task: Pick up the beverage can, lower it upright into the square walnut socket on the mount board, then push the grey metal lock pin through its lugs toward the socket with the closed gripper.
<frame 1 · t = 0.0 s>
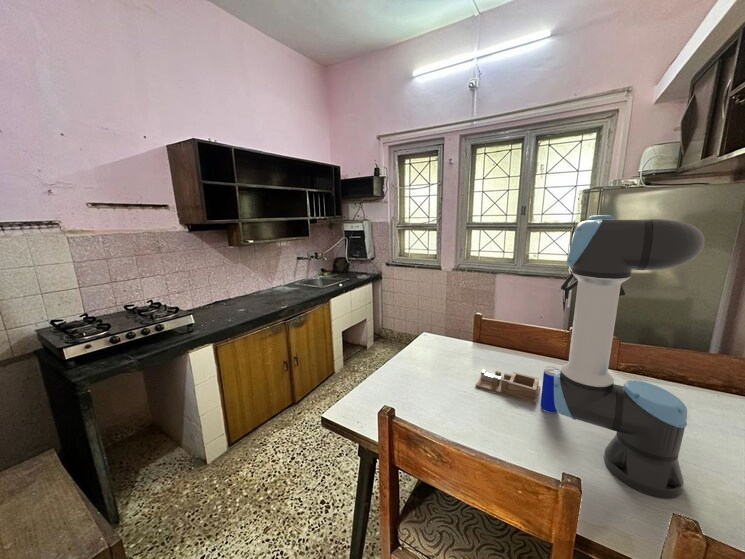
hand: (588, 309, 117), 28 cm above the table, fingers open, 13 cm apart
lock pin: (490, 376, 118), point 3 cm above the table, slide at 0.0 cm
beverage can: (548, 409, 102), on the table
mount: (507, 387, 115), on the table
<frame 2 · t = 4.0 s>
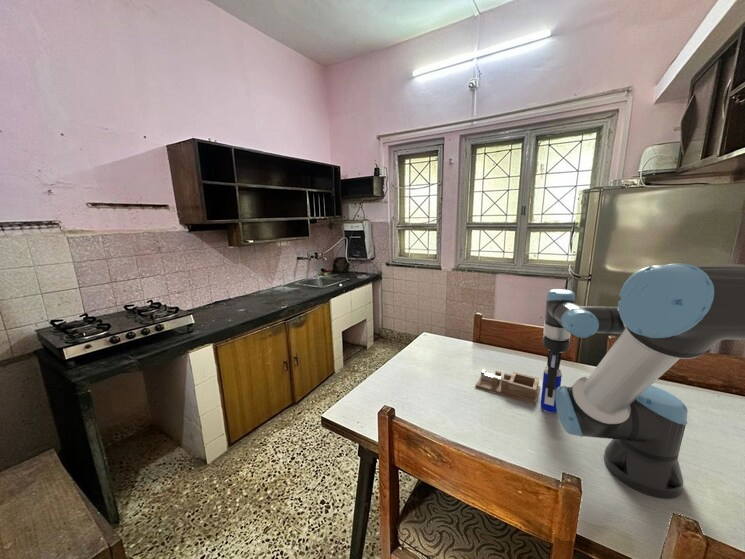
hand: (549, 399, 101), 4 cm above the table, fingers closed on beverage can, 5 cm apart
beverage can: (548, 409, 102), on the table, touching gripper
everything else where it was.
when the fingers open (7 cm above the table, at t = 8.1 s): beverage can drops 2 cm, resting on mount.
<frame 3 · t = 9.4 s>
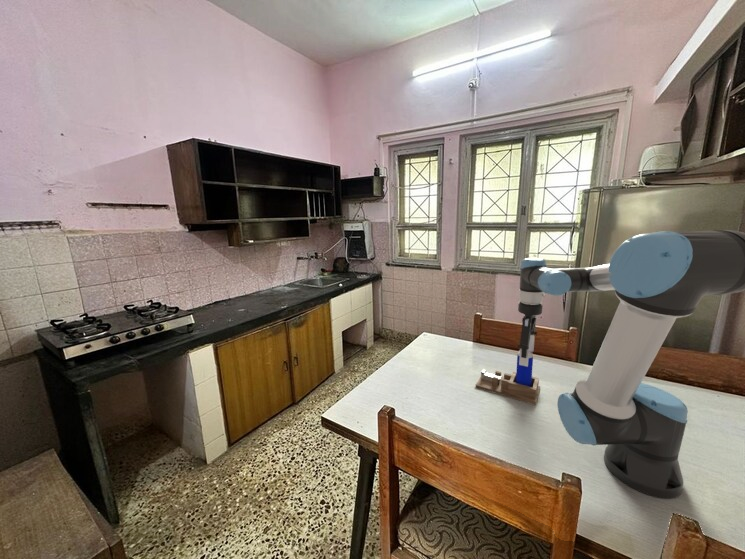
hand: (526, 357, 108), 15 cm above the table, fingers open, 13 cm apart
beverage can: (523, 390, 112), point 1 cm above the table, touching mount
everything else where it was.
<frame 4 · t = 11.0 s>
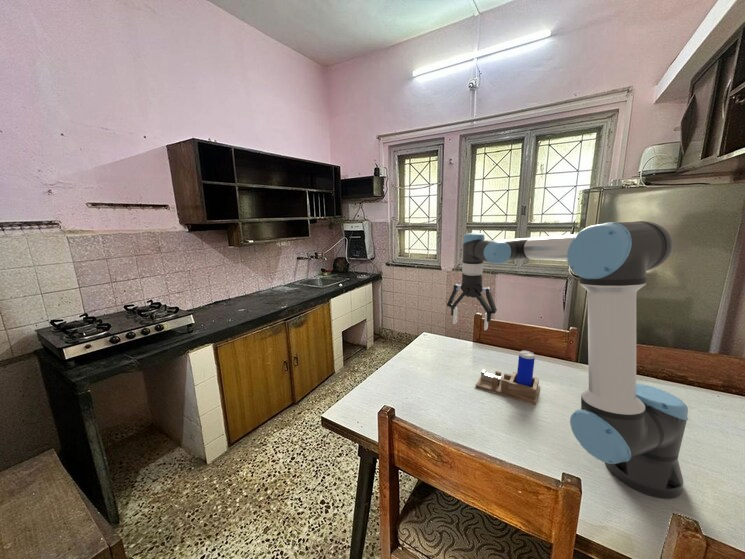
hand: (470, 326, 119), 23 cm above the table, fingers open, 12 cm apart
nothing on the table moved.
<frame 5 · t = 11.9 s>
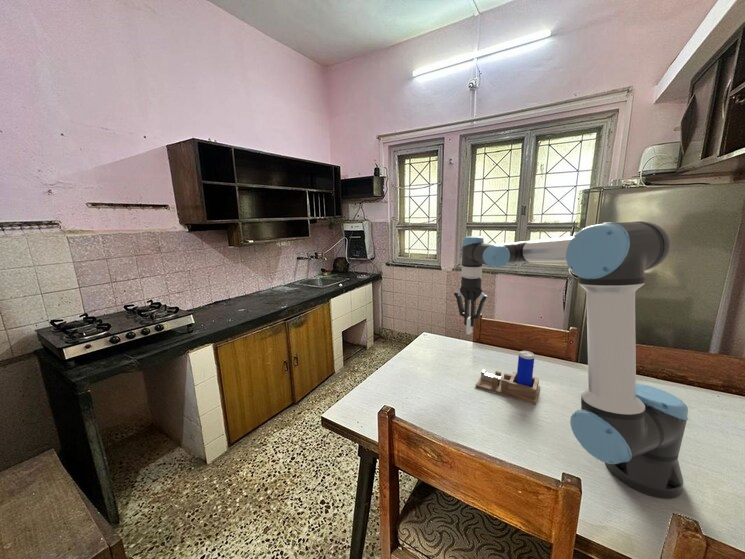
hand: (469, 333, 120), 19 cm above the table, fingers closed
nothing on the table moved.
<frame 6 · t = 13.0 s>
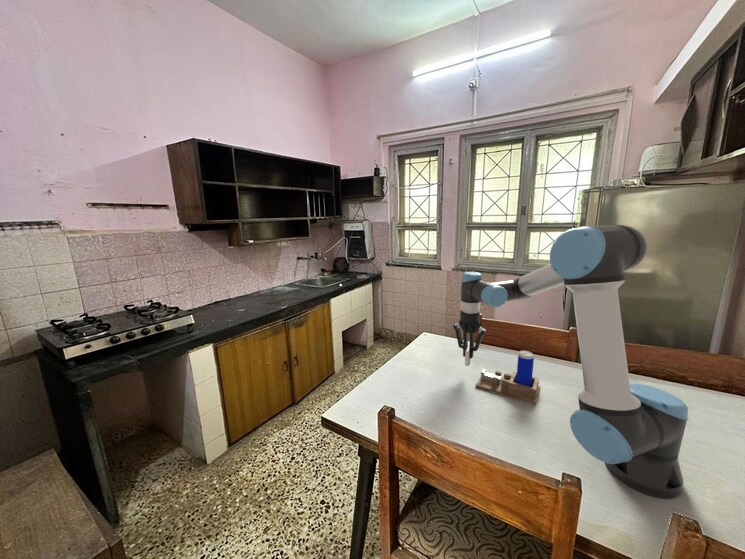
hand: (467, 364, 123), 6 cm above the table, fingers closed
nothing on the table moved.
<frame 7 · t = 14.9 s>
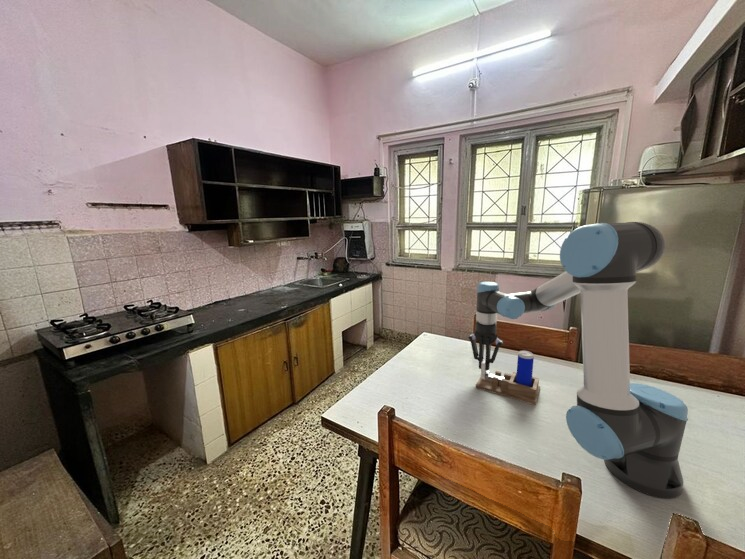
hand: (483, 376, 120), 2 cm above the table, fingers closed
lock pin: (494, 377, 117), point 3 cm above the table, slide at 1.5 cm, touching gripper
everything else where it was.
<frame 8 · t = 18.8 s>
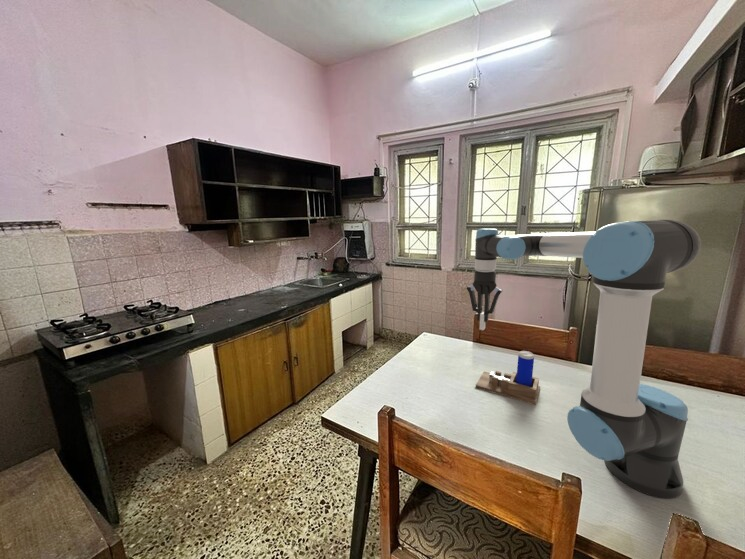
hand: (482, 328, 116), 22 cm above the table, fingers closed
lock pin: (499, 379, 116), point 3 cm above the table, slide at 3.2 cm
everything else where it was.
at the end: beverage can 0.0 cm from the target spot, point 0.8 cm above the table; beverage can tilted 0°; lock pin slide at 3.2 cm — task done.
